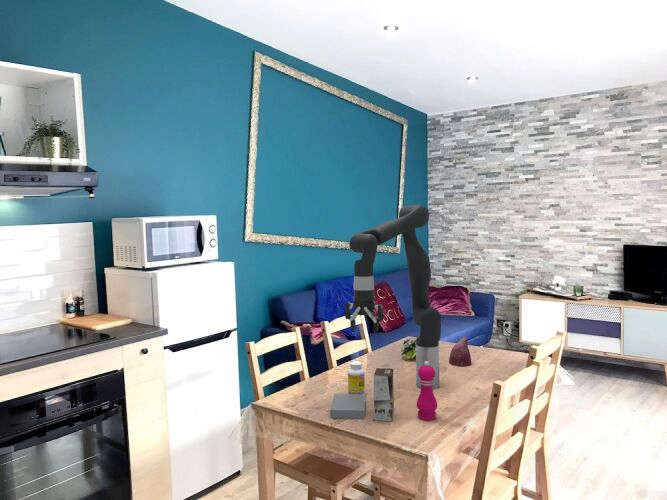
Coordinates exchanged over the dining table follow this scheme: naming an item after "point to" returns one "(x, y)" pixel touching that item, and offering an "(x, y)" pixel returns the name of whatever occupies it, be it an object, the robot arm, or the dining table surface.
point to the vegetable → (460, 354)
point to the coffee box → (383, 394)
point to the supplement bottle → (356, 378)
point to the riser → (348, 406)
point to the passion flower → (409, 349)
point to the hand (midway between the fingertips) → (364, 331)
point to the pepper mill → (426, 393)
